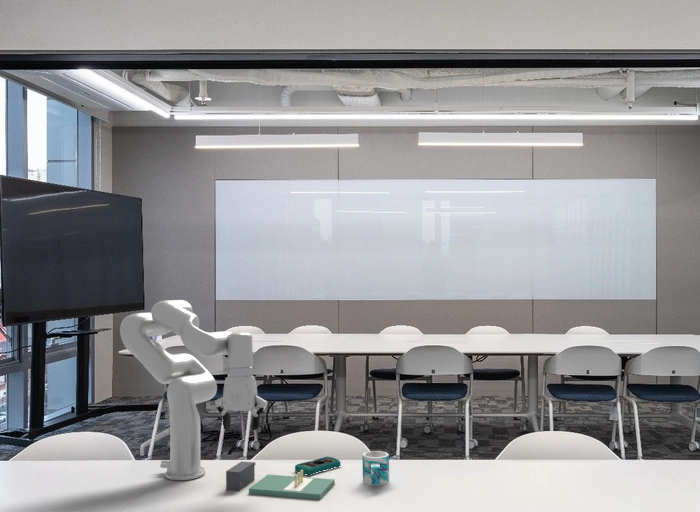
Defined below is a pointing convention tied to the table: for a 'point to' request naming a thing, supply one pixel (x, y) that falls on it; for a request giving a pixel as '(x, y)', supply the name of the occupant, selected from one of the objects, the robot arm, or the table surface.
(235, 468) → the block
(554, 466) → the table surface
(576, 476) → the table surface
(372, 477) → the mug
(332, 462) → the digital multimeter
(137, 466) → the table surface
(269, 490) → the header board
